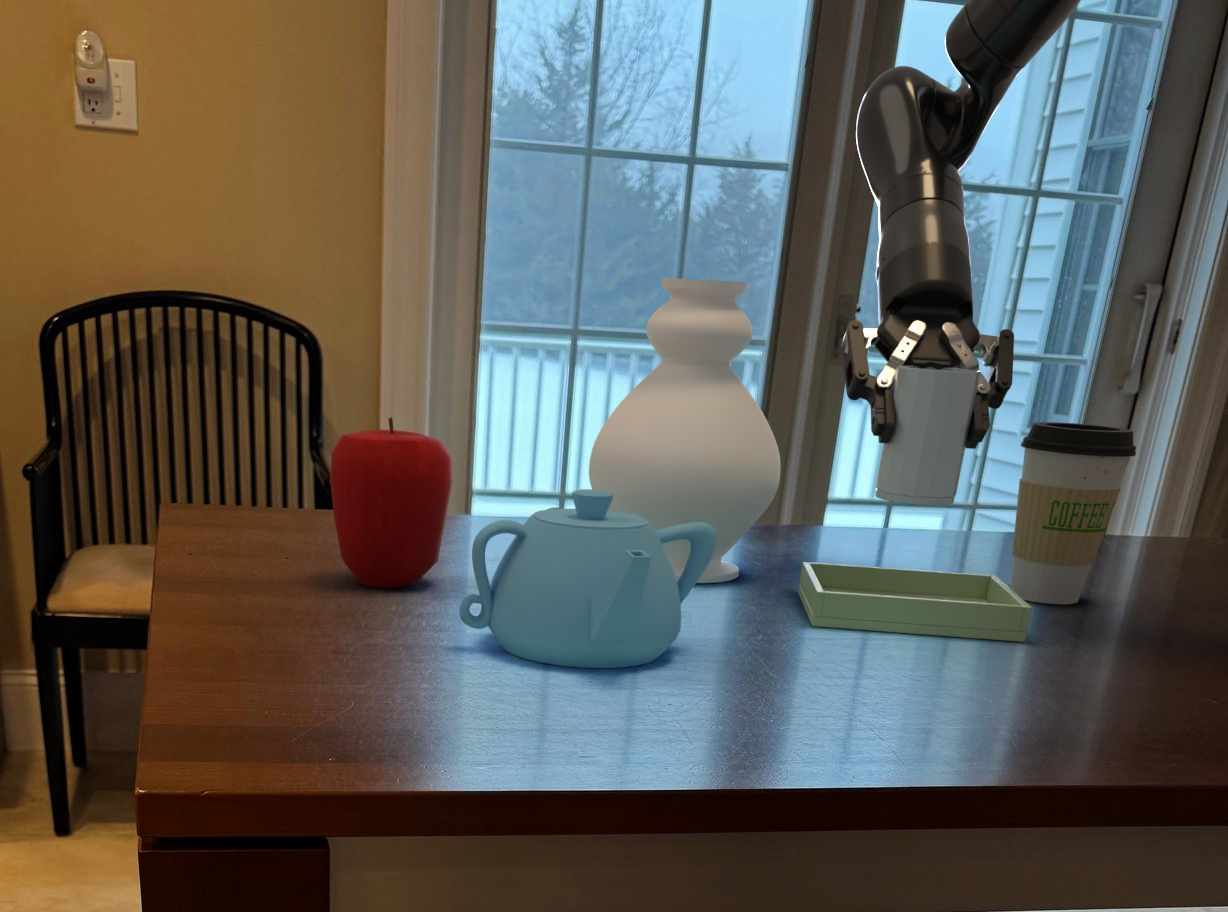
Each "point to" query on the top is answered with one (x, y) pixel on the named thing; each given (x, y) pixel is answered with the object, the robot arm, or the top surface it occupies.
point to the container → (927, 435)
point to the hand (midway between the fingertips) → (930, 438)
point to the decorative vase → (691, 429)
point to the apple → (390, 504)
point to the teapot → (586, 585)
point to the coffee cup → (1065, 506)
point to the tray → (912, 602)
